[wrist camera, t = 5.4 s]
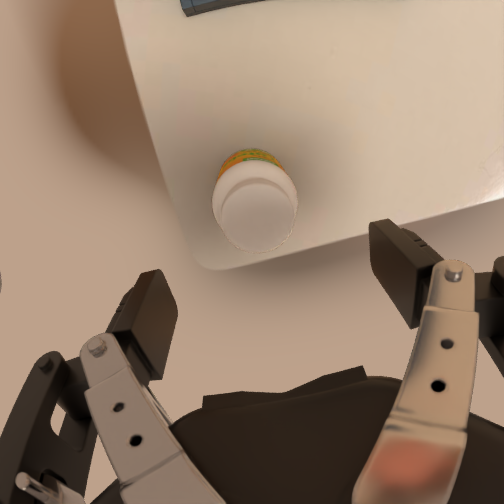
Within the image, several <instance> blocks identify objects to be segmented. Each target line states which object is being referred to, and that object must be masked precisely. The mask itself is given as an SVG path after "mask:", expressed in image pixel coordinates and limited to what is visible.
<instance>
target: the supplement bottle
mask: <svg viewBox="0 0 504 504" xmlns="http://www.w3.org/2000/svg"><path fill="white" fill-rule="evenodd" d="M297 207H298V197H297V192H296V189H295V186H294V184H293V182H292V180H291V179H290V177H289V176H288V174H287V173H286V172H285V170H284V169H283V168H282V166H281V165H280V163H279V162H278V161H277V160H276V159H275V158H274V157H273V156H272V155H271V154H269V153H267V152H265V151H263V150H259V149H244V150H240V151H238V152H236V153H234V154H232V155H231V156H230V157H229V158H228V159H227V160H226V161H225V162H224V164H223V166H222V168H221V170H220V173H219V176H218V179H217V182H216V185H215V188H214V191H213V196H212V209H213V214H214V217H215V219H216V221H217V223H218V225H219V226H220V227H221V228H222V230H223V232H224V234H225V236H226V237H227V239H228V240H229V241H230V242H231V243H232V244H233V245H234V246H236V247H237V248H239V249H241V250H243V251H246V252H251V253H264V252H268V251H271V250H273V249H276V248H277V247H279V246H280V245H281V244H283V243H284V242H285V241H286V240H287V238H288V237H289V235H290V234H291V232H292V229H293V226H294V220H295V216H296V213H297Z"/></svg>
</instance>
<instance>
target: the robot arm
mask: <svg viewBox="0 0 504 504" xmlns="http://www.w3.org/2000/svg"><path fill="white" fill-rule="evenodd" d="M369 241H370V242H369V243H370V262H371V267H372V270H373V273H374V275H375V276H376V278H377V279H378V280H379V282H380V284H381V285H382V287H383V288H384V289H385V291H386V292H387V294H388V295H389V297H390V298H391V300H392V301H393V303H394V304H395V306H396V307H397V309H398V311H399V312H400V314H401V315H402V316H403V318H404V320H405V321H406V323H407V324H408V326H409V328H410V329H414V328H417V327H419V328H418V332H417V336H416V339H415V343H414V346H413V350H412V353H411V356H410V359H409V363H408V366H407V369H406V372H405V375H404V378H403V380H400V379H396V378H392V377H384V376H367V375H366V373H365V370H364V368H363V366H358V367H355V368H351V369H347V370H343V371H340V372H336V373H332V374H328V375H324V376H321V377H319V378H317V379H315V380H313V381H310V382H308V383H306V384H304V385H301V386H299V387H297V388H294V389H292V390H290V391H287V392H283V393H265V392H245V391H240V392H232V393H225V394H217V395H207V396H203V403H202V408H200V409H197V410H195V411H192V412H190V413H188V414H186V415H185V416H183V417H181V418H180V419H178V420H177V421H175V422H173V421H172V420H171V419H170V417H169V416H168V414H167V413H166V411H165V410H164V409H163V407H162V406H161V404H160V403H159V401H158V400H157V398H156V397H155V395H154V394H153V392H152V391H151V389H150V388H149V387H148V385H149V381H152V380H162V378H163V374H164V369H165V365H166V361H167V357H168V353H169V349H170V344H171V341H172V336H173V333H174V329H175V324H176V321H177V317H178V310H177V305H176V302H175V299H174V297H173V295H172V293H171V291H170V288H169V286H168V283H167V281H166V279H165V276H164V274H163V272H162V271H161V270H160V269H157V270H153V271H149V272H144V273H141V274H140V276H139V278H138V280H137V282H136V284H135V285H134V287H132V288H131V289H130V290H129V291H128V292H127V293H126V294H125V295H124V297H123V299H122V300H121V302H120V304H119V305H120V306H118V308H117V310H116V313H115V314H114V316H113V318H112V320H111V322H110V324H109V326H108V328H107V330H106V332H105V333H101V334H98V335H96V336H94V337H92V338H91V339H89V340H88V341H87V342H86V343H85V344H84V345H83V347H82V349H81V351H80V356H79V357H76V358H74V359H71V360H68V361H65V359H64V358H63V357H62V355H61V354H60V353H59V352H57V351H51V352H49V353H46V354H44V355H43V356H42V357H40V358H39V359H38V360H37V362H36V363H35V364H34V366H33V368H32V370H31V372H30V374H29V376H28V377H27V380H26V382H25V383H24V385H23V387H22V390H21V392H20V394H19V396H18V398H17V400H16V402H15V404H14V407H13V409H12V411H11V413H10V415H9V418H8V420H7V422H6V425H5V427H4V430H3V432H2V435H1V437H0V504H85V501H84V496H85V490H86V485H87V479H88V474H89V470H90V465H91V459H92V455H93V451H94V447H95V443H96V438H97V434H99V437H100V439H101V442H102V444H103V447H104V449H105V451H106V453H107V456H108V458H109V460H110V463H111V465H112V467H113V469H114V471H115V473H116V475H117V477H118V478H117V479H116V480H115V481H114V482H113V483H112V484H111V485H109V486H108V487H107V488H106V489H105V490H104V491H103V492H102V493H101V494H100V495H99V496H98V497H97V498H95V499H94V500H93V501H92V502H91V503H90V504H504V427H502V426H500V425H498V424H495V423H493V422H491V421H489V420H486V419H484V418H482V417H479V416H477V415H475V414H473V413H471V412H469V411H470V405H471V399H472V394H473V387H474V380H475V372H476V363H477V352H478V338H479V339H480V341H481V342H482V344H483V345H484V347H485V348H486V350H487V351H488V353H489V354H490V356H491V358H492V359H493V361H494V363H495V364H496V366H497V367H498V369H499V371H500V372H501V374H502V376H503V377H504V256H502V257H499V258H497V259H496V260H495V261H494V266H493V271H492V272H483V273H474V270H473V269H472V268H471V267H470V266H469V265H468V264H466V263H464V262H462V261H458V260H444V259H443V258H442V257H441V256H440V255H439V254H438V253H437V252H436V251H435V250H433V249H432V248H431V247H430V246H428V245H427V243H426V242H424V241H423V240H422V239H421V238H420V237H419V236H417V235H416V234H415V233H414V232H411V231H409V230H407V229H404V228H402V229H400V228H399V227H398V226H397V225H396V224H394V223H393V222H392V221H391V220H390V219H384V220H379V221H375V222H370V224H369ZM56 403H57V404H58V405H59V406H60V407H61V408H62V409H63V410H64V411H65V412H66V415H65V418H64V421H63V424H62V427H61V430H60V433H59V436H58V435H56V434H55V433H54V431H53V430H52V428H51V424H50V420H51V416H52V414H53V411H54V408H55V406H56Z"/></svg>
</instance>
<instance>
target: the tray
mask: <svg viewBox="0 0 504 504" xmlns="http://www.w3.org/2000/svg"><path fill="white" fill-rule="evenodd" d="M256 1H263V0H180V2H181V6H182V9H183V11H184V13H185V14H186V16H187V17H188V16H192V15H195V14H199V13H203V12H207V11H211V10H215V9H219V8H224V7H229V6H234V5H239V4H244V3H250V2H256Z"/></svg>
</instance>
